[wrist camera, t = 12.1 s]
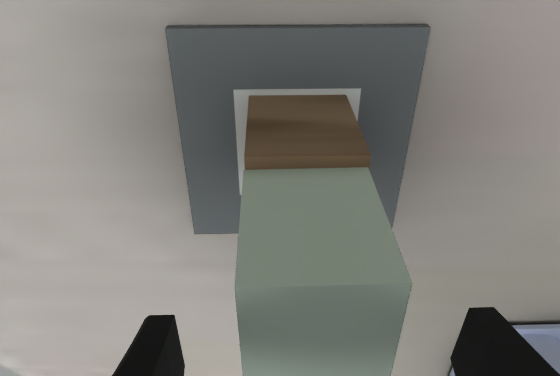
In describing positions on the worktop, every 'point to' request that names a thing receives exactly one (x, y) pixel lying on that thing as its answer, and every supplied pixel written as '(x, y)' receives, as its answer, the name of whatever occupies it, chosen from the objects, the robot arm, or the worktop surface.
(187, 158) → the pad
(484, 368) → the robot arm
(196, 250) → the worktop surface
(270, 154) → the block walnut
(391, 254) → the block sage
